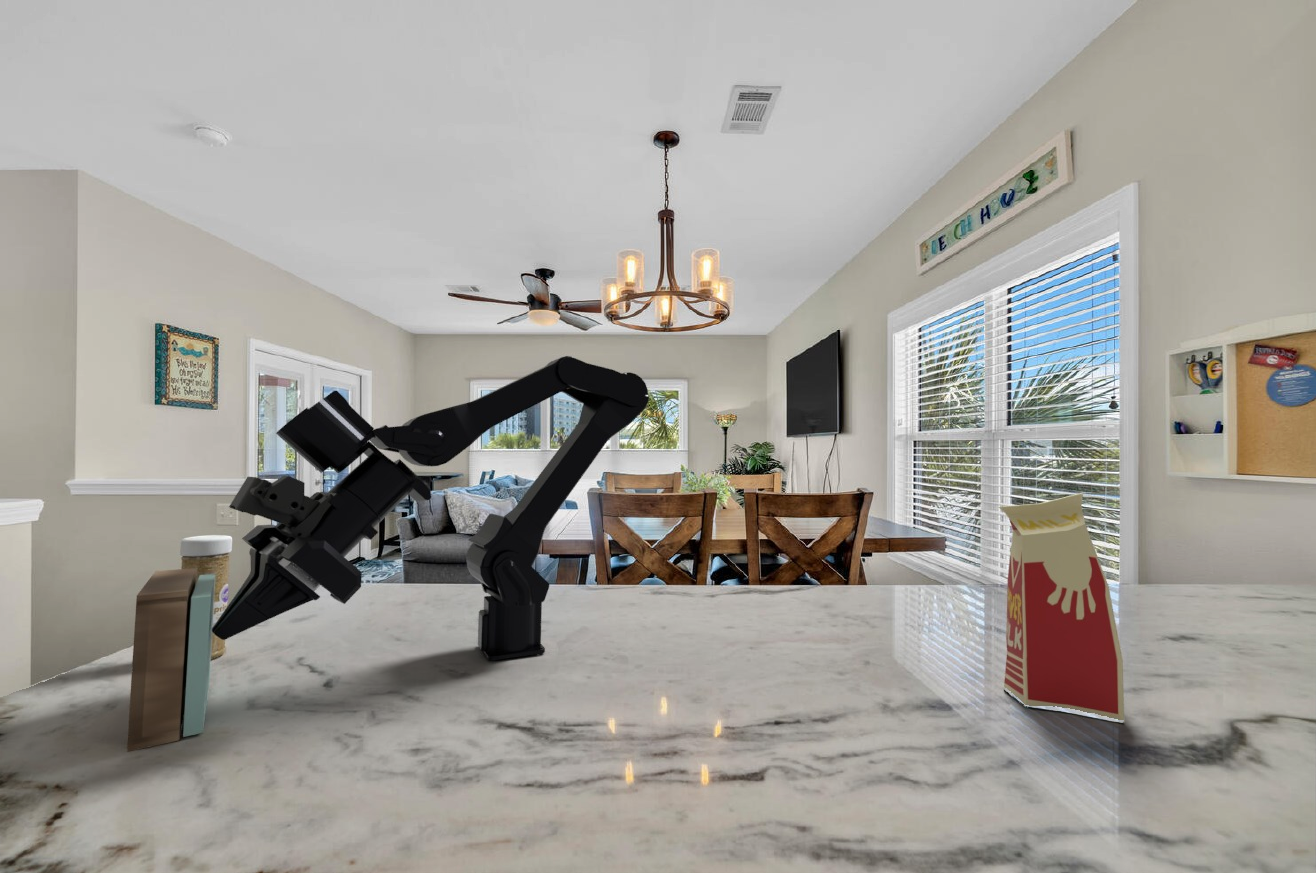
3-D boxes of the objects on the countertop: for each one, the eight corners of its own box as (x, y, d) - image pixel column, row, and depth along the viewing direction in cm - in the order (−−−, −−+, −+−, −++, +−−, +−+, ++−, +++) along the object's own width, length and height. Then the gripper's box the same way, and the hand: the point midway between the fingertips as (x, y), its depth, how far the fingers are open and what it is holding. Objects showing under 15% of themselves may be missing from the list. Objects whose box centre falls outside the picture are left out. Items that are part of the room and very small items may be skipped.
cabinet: (189, 690, 53) (196, 568, 54) (178, 740, 44) (187, 590, 45) (147, 697, 52) (155, 571, 52) (126, 751, 42) (136, 595, 43)
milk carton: (1099, 688, 57) (1093, 491, 58) (1131, 726, 49) (1123, 495, 50) (995, 673, 61) (992, 489, 62) (1008, 706, 52) (1003, 492, 53)
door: (209, 683, 55) (216, 571, 55) (202, 732, 45) (210, 596, 45) (193, 686, 54) (200, 573, 55) (183, 736, 44) (191, 598, 45)
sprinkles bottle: (224, 659, 62) (230, 537, 63) (170, 667, 59) (177, 540, 60) (227, 648, 66) (234, 533, 67) (177, 654, 63) (184, 535, 64)
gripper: (271, 449, 60) (123, 564, 52) (327, 445, 48) (143, 598, 39) (347, 518, 66) (225, 633, 57) (416, 532, 53) (272, 683, 44)
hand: (216, 635), depth 49 cm, fingers closed
